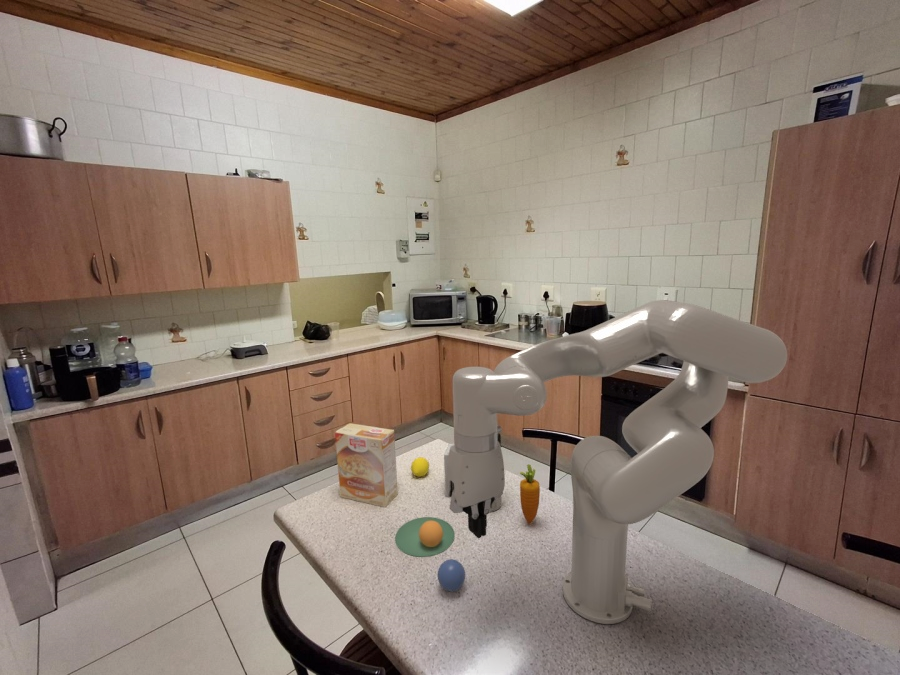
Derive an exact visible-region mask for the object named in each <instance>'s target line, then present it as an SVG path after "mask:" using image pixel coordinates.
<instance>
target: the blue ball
mask: <svg viewBox="0 0 900 675" xmlns="http://www.w3.org/2000/svg"><path fill="white" fill-rule="evenodd" d="M465 580H466V570H465V568H464V565H463V564H462V563H461V562H460V561H458V560H456V559H453V558H452V559H447V560H446V559H445V561H443V562H442V563H441V564H440V565H439V567H438V570H437V581H438V583H439V585H440V586H441V588H442V589H443V590H445V591H447V592H456V591H458V590H460V589H461V588H462V586H464V583H465Z"/></svg>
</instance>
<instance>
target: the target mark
mask: <svg viewBox="0 0 900 675" xmlns="http://www.w3.org/2000/svg"><path fill="white" fill-rule="evenodd" d="M427 521H436V522H437V523H439V524H440V526H441V527H442V530H443V537H442V540H441V542H440V543H439V544H438V545H437V546H434V547H427V546H425V545H424V544H422V542H421V541H420V538H419V530H420V528H421V526H422V525H423V524H424V523H425V522H427ZM455 534H456V533H455V530H454V528H453V526H452V525H451V524H450V523H449V522H447V521H446V520H444V519H443V518H442V519H441V518H438V517H433V516H432V517H431V516H424V517H417V518H414V519H411V520H409V521H406V523H404V524H402V525H401V526H400V527H399V528H398V530H397V531H396V533H395V537H394V538H395V540H394V541H395V544H396V547H397V548H398V549H399V550H400V551H401V552H402V553H404V554H406V555H408V556H411V557H418V558H419V557H420V558H427V557H433V556H436V555H439V554H441V553H443V552H445V551H446V550H448V549H449V548H450V547H451V545H452V544H453V543H454V540H455Z"/></svg>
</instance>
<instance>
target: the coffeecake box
mask: <svg viewBox="0 0 900 675" xmlns="http://www.w3.org/2000/svg"><path fill="white" fill-rule="evenodd" d="M334 437H335V438H334V439H335V448H336V457H337V458H336V459H337V461H336V462H337V472H338V474H337V475H338V483H339V485H338V486H339V494H340V496H339V497H340V498H343V499H347V500H352V501H357V502H360V503H361V502H362V503H365V504H371V505H374V506H377V507H382V508H386V507H387V506H389V504H390V503H391V502H392V501H393V500H394V499H395V498H396V497H397V496H398V494H399V492H398V491H399V490H398V474H397V473H398V472H397V456H396V437H395V429H389V428H383V427H376V426H370V425H366V424H358V423H357V424H356V423H351V422H349V423H347V424H345V425H344V426H342V427H341V428H338V429H337V430H336V431H334Z"/></svg>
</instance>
